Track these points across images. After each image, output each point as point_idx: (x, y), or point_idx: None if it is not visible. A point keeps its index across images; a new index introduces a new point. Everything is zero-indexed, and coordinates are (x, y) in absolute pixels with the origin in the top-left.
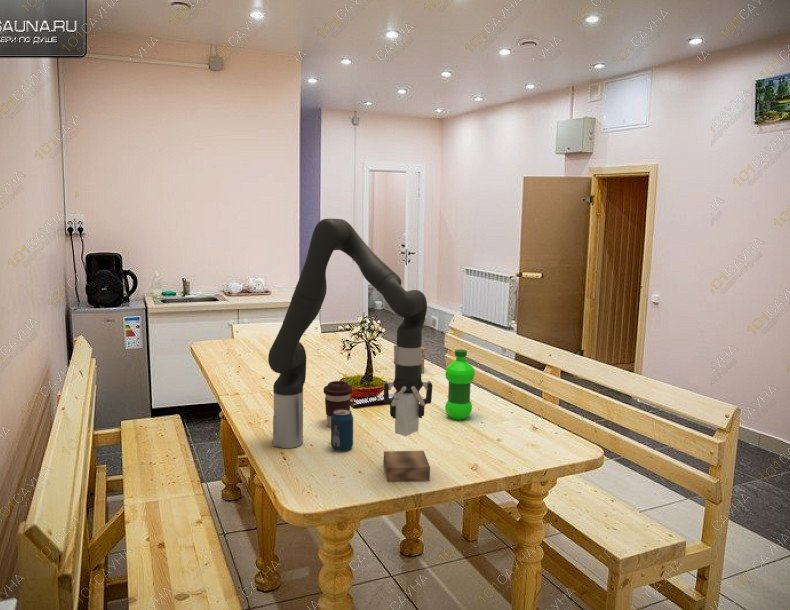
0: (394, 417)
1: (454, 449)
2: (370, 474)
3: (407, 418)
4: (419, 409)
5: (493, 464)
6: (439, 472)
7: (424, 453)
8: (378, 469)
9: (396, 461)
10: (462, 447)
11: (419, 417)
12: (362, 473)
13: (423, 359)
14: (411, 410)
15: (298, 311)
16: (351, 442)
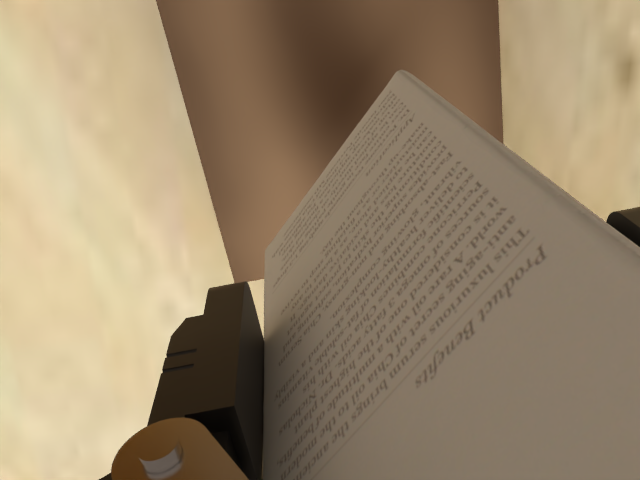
0: (632, 209)
1: (83, 437)
2: (564, 37)
3: (442, 143)
4: (247, 381)
5: None
6: (123, 128)
7: (224, 239)
8: (509, 120)
9: (421, 69)
10: (44, 464)
11: (246, 284)
12: (613, 46)
13: None
14: (397, 284)
15: None
16: None
